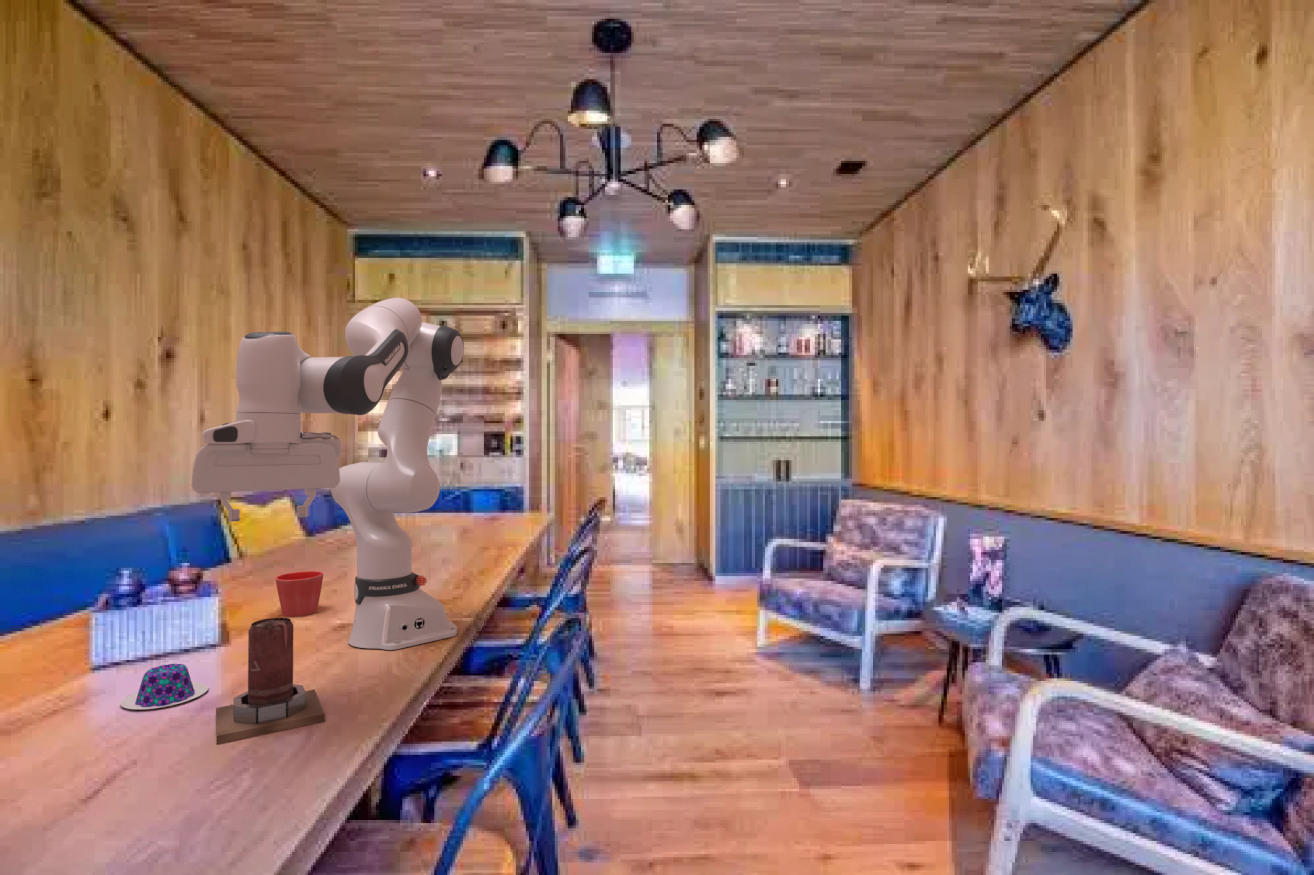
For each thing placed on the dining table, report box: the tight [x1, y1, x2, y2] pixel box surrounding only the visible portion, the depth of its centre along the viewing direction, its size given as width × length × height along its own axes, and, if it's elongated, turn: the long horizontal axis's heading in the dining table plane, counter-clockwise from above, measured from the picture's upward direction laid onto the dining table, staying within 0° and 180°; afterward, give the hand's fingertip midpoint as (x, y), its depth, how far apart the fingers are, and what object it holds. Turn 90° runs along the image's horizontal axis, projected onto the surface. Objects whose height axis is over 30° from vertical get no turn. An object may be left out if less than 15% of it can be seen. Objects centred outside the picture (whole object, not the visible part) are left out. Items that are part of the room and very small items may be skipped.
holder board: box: [215, 689, 326, 745], centre depth 103 cm, size 14×12×1 cm
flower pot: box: [275, 570, 324, 618], centre depth 166 cm, size 11×11×10 cm
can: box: [247, 617, 294, 706], centre depth 103 cm, size 6×6×14 cm
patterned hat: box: [119, 663, 209, 710], centre depth 111 cm, size 12×12×5 cm
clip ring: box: [232, 683, 306, 725], centre depth 103 cm, size 10×10×2 cm
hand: (269, 519), depth 104 cm, fingers open, 8 cm apart
